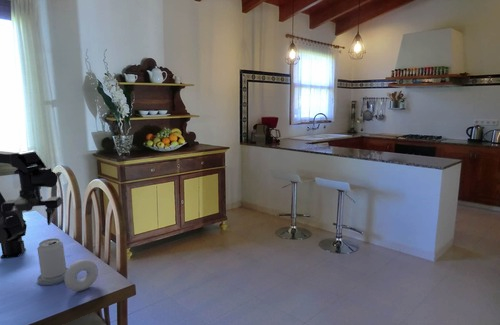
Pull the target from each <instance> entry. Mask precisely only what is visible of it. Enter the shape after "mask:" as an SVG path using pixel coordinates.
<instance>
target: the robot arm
mask: <svg viewBox="0 0 500 325" xmlns="http://www.w3.org/2000/svg"><path fill="white" fill-rule="evenodd" d="M0 164H5V165H6V164H8V165H11V167H12V168H15V169H16V170H15V171H14V172H13V174H15V175H18V177H19V184H20V190H19V196H18V197H17V199H8V200H7V201H6V199H5V197H4V196H3V193H2V192H1V191H0V247H1V253H2V254H1V255H0V258H1V259H3V258H18V257H20V256H21V255H22V254H23V253H24V252H25V251H26V250H27V249H26V247H25V242H24V240H23V237H25V236H26V233H27V232H26V231H27V226H28V225H27V223H26V220H25V219H24V213H23V212H30V211H32V209H33V208H34V207H41V206H45V212H46V222H47V225H48V226H50V225H51V223H52V219H53V216H54V212H55V211H56V209H57V208H59V207H60V206H61V205H62V204H63V198H62V197H61V196H51V197H49V198H48V199H46V200H45V199H44V200H43V196H41V189H42V188H53V187H55V186H56V185H57V183H58V175H57V174H56V172H54V171H52V168H51V167H47V166H46V164H45V162H43V160H42V159H41V157H40V156H39V155H38V153H37V151H35V150H26V151H19V152H12V151H1V150H0Z"/></svg>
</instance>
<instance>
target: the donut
mask: <svg viewBox="0 0 500 325" xmlns="http://www.w3.org/2000/svg"><path fill="white" fill-rule="evenodd" d="M67 268H68V270H67V271H66V274H65V280H64V283H65V286H66V287H67V288H68V289H69V290H71V291H73V292H81V291H85V290H87V289H88V288H90V287H91V286H93V284H94V283H96V281H97V279H98V278H97V277H98V275H99V268H98V266H97V264H96V263H95V261H93V260H91V259H86V258H85V259H80V260H77V261H75V262H74V263H72V264H71V265H70V266H69V267H67ZM82 271H85V272H86V275H85V277H83V278H82V279H78V277H77V276H78V274H79V273H80V272H82Z"/></svg>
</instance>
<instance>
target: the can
mask: <svg viewBox="0 0 500 325" xmlns="http://www.w3.org/2000/svg"><path fill="white" fill-rule="evenodd" d="M36 250H37V256H38V261H39V262H38V263H39V269H40V275H41V276H42V277H44V278H45V279H54V278H57V277H60V276H61V275H63V274H64V272H65V271H66V268H67V266H66V264H67V263H66V258H65V249H64V243H63V242H62V241H61V239H60V238H56V237H54V238H46V239H44V240H42V241H40V242H39V243H38V247H37V249H36Z"/></svg>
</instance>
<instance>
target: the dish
mask: <svg viewBox="0 0 500 325" xmlns="http://www.w3.org/2000/svg"><path fill="white" fill-rule="evenodd" d="M68 268H69V267H66V271H67V270H68ZM66 271H65V272H64V274H63V275H61V276H60V277H57V278H54V279H45V278H44V277H42V276H41V274H40V275H38V277H37V283H38V285H40V286H42V287H43V286H45V287H48V286H49V287H50V286H54V285H55V286H56V285H58V284H61V283H65V281H64V280H65V274H66Z"/></svg>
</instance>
